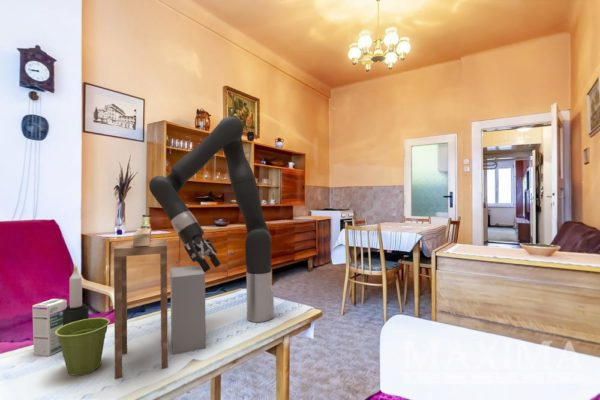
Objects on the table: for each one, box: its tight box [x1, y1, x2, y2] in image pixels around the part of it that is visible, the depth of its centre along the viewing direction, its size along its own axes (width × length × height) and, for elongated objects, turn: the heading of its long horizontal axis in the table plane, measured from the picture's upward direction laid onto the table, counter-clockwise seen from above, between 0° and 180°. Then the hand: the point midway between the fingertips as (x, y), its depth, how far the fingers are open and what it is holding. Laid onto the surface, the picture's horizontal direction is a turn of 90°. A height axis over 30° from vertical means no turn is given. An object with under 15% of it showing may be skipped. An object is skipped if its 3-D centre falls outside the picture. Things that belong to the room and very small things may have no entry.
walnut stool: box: [113, 238, 169, 380], centre depth 86 cm, size 12×15×32 cm
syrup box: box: [32, 298, 68, 357], centre depth 91 cm, size 6×6×14 cm
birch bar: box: [132, 228, 152, 247], centre depth 90 cm, size 4×24×3 cm, turn 25°
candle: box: [63, 265, 90, 326], centre depth 90 cm, size 5×5×25 cm
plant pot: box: [55, 317, 111, 377], centre depth 81 cm, size 12×12×11 cm
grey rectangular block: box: [169, 264, 207, 355], centre depth 97 cm, size 9×14×22 cm, turn 25°
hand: (213, 268), depth 103 cm, fingers open, 7 cm apart
